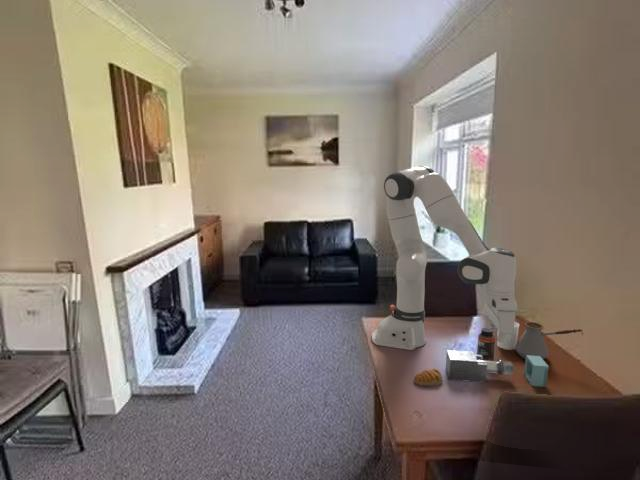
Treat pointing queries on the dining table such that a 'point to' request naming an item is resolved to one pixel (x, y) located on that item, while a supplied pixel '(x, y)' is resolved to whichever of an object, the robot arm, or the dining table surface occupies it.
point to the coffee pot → (536, 340)
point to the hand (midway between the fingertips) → (496, 335)
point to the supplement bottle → (486, 344)
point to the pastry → (429, 378)
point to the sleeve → (465, 366)
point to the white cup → (509, 339)
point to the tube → (498, 367)
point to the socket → (536, 370)
